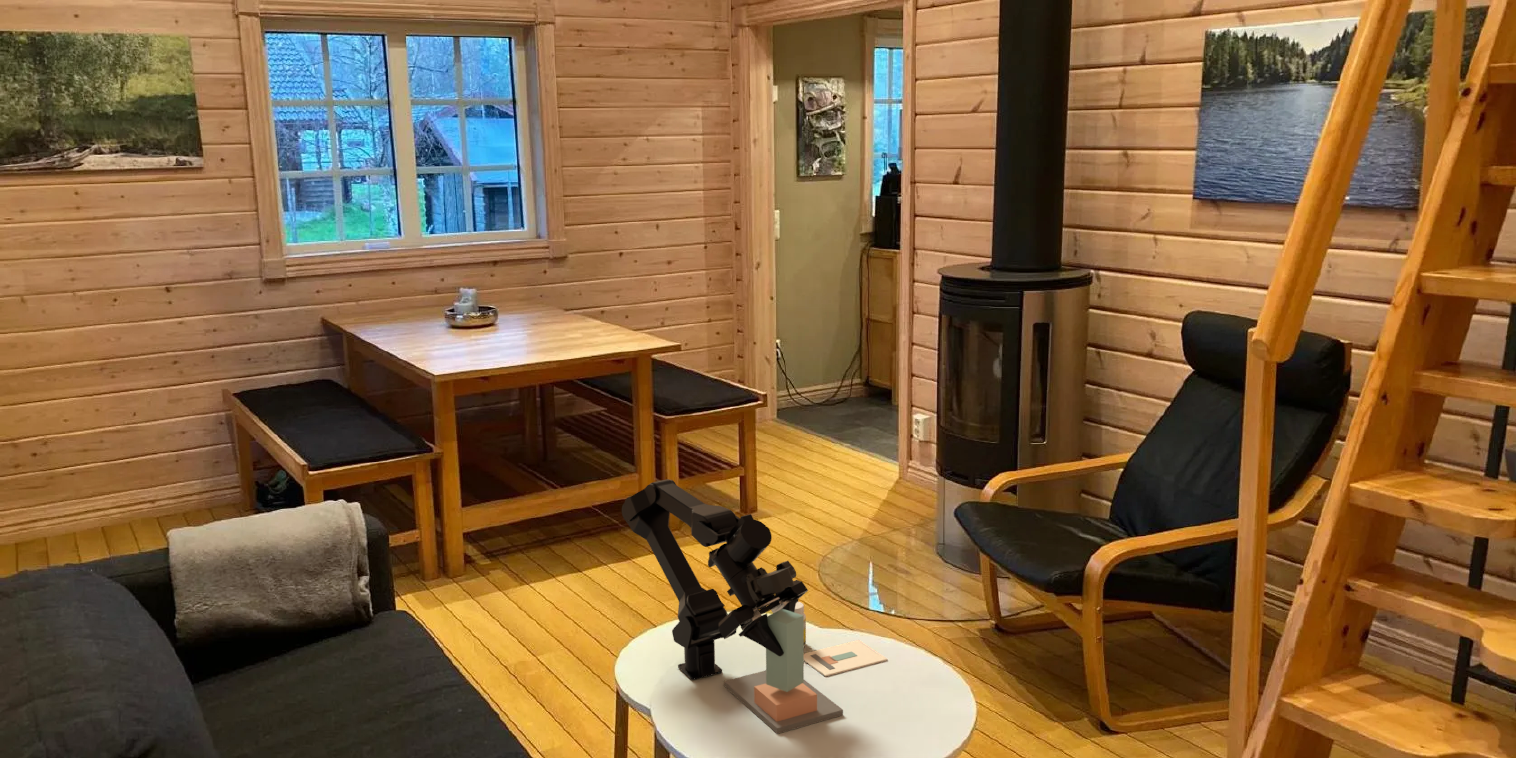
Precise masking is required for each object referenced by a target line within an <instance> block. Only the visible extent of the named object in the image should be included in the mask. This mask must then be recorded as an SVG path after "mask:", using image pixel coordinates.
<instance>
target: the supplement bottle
mask: <svg viewBox="0 0 1516 758" xmlns="http://www.w3.org/2000/svg"><path fill="white" fill-rule="evenodd" d="M804 605H805V604H804V603H802V602H800V601H798V602H797V603H796V605H795V611H794V612H795V613H797V614H801V615H804V647H805V646H806V643H807V637H806V635H807V616H806V614H805V606H804Z"/></svg>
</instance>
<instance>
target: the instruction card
mask: <svg viewBox="0 0 1516 758" xmlns="http://www.w3.org/2000/svg"><path fill="white" fill-rule="evenodd" d="M886 661H888V657H886V656H885V655H883V654H882V653H880V652H878V651H876V650H875V649H873V648H872V647H871V646H869V645H868V644H866V643H864V642H863V641H862V640H860V639H856V640H853V641H852V640H851V641H849V642H844V643H841V644H837V645H832V646H828V647H824V648H820V649H817V650H812V651H809V652H804V663H806V664H807V663H808V664H807V665H809V666H810V667H811V666H812V667H811V668H812V669H814V670H815V671H817V672H818V673H819V674H820V675H822V676H823V675H824V676H823V677H829V676H833V675H836V674H842V673H844V672H845V673H846V672H849V671H852V670H856V669H860V668H863V667H864V668H865V667H868V666H871V665H875V664H878V663H883V662H886Z"/></svg>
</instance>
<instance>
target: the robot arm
mask: <svg viewBox="0 0 1516 758" xmlns="http://www.w3.org/2000/svg"><path fill="white" fill-rule="evenodd" d="M670 514H672V515H673V516H674V517H676V518H677V519H679V520H680V521H682V522H683V523H685V524H686V525H687V526H689V527H690V533H691V536H692V538H694V539H695V540H696V541H697V542H698V544H700V545H701V546H703V547H704V548H707V547H712V546H717V545H720V544H721V545H720V546H719V547H718V548H717V547H716V548H715V549H713V550H711V551H709V552H708V556H709V557H708V560H707V566H708V567H709V568H712V567H716V568H717V570H718V571H719V572H720V574H721V576H722V577H723V579H724V581H725V582H726V583H727V585H728V586H729V589H728V590H727V591H726V593H727V594H728V595H729V597H731V596H733V595H734V596H735V598H736V599H737V600H738V602H739V603H740V604H741V606H739V607H737V608H734V609H733V610H731V611H730V612H729V613H728V612H727V609H726V608H725V607H726V606H725V605H726V604H724V603H723V601H722V600H721V598H720V595H719V594H718V591H716V589H714V588H710V589H705V588H704V587H702V585H701V584H700V582H699V580H698V578H697V576H696V575H695V573H694V571H693V569H692V567H691V565H690V563H689V562H688V560H687V558H686V556H685V553H684V552H683V551H682V549H681V547H680V545H679V543H678V541H677V539H676V538H675V536H674V534H673V532H672V530H671V528H670V526H669V525H670V523H669V522H670ZM621 515H622V518H623V520H624V521H625V522H626V524H627V525H628V527H630V529H631V531H632V533H634V534H636V535H637V536H639V537H641V538H643V539H644V540H646V541H647V543H648V545H649V547H650V549H651V551H652V552H653V555H654V558H656V561H657V562H658V564H659V566H660V568H661V570H662V572H663V573H664V575H665V578H666V580H667V581H668V584H669V585H670V587H671V589H672V591H673V593H674V594H675V597H676V598H677V600H678V609H677V619H678V623H677V624H676V625H675V626H674V627H673V629H672V630H671V633H672V634H671V635H672V638H673V641H674V642H675V643H676V644H677V645H679V646H681V647H683V648H684V651H683V652H684V653H683V654H684V663H679V664H677V668H678V669H679V670H680V671H681V672H682V673H684V675H685V676H687V677H688V678H689V679H690V680H693V681H694V680H699V679H702V678H706V677H710V676H714V675H718V674H721V673H723V669H722V668H721V667H720V666H719V665H718V664H717V663H716V654H715V653H716V652H715V651H716V649H715V641H716V640H719V639H724V640H726V639H728V638H730V637H732V636H734V635H736V634H737V631H738V628H739V627H740V629H741V630H742V631H741V632H739V633H738V636H739V637H745V638H746V639H749V640H750V641H752V642H755V643H756V644H758V645H760V646H762V647H764V649H765V650H766V649H768V650H770V651H771V652H773V653H774V654H776V655H778V656H782V655H783V654H784V652H783V650H782V648H781V646H780V644H779V642H778V641H777V639H776V637H775V636H774V634H773V632H772V631H771V629H770V627H769V626H768V617H767V616H768V613H767V612H769V611H771V612H772V614H773V613H775V612H777V611H779V610H781V609H785V610H788V611H791V612H794V611H795V605H796V603H797V602H799V599H801V597H803V596H804V595H805V594H806V593H807V592H808V591H809V589H808V588H807V587H806V585H805V584H804V582H803V581H801V580H798V579H795V578H796V576H797V572H796V569H795V567H794V566H793V565H792V564H791V562H790V561H789V560H785V561H783V562H780V563H778V564H777V565H776V568H775V569H776V570H774V571H771V572H767V570H766V569H765V568H763V567H758V568H757V567H756V565H755V563H754V562H755V561H756V560H757V559H758V557H759V556H760V555H761V554H763V552H764V551H765V550H766V549H767V548H768V546H769V545H770V544H771V542H772V538H773V537H772V533H771V530H770V528H769V527H768V526H767V525H765V523H763V522H762V521H760V520H758V519H754V517H753V515H752V514H751V513H749V514H746V515H742V516H740V517H738V516H737V515H736V514H735V512H734V511H732V510H731V509H729V508H727V507H725V506H721V505H711V504H708V503H704V502H703V501H701V500H700V499H698V498H697V497H696V496H694V495H692V494H691V493H689V492H687V491H686V490H685V489H684V488H682V487H680V486H679V485H677V484H676V482H675V481H674V480H673V479H668V478H666V479H663V480H659V481H653V482H650V483H649V484H648V485H646V486H645V488H643V489H642V490H640V491H638V492H637V493H634V494H633V495H631V496H628V497H626V498H625V500H624V503H623V504H622V505H621ZM723 543H724V544H723ZM794 579H795V580H794ZM794 613H795V612H794Z"/></svg>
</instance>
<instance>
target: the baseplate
mask: <svg viewBox="0 0 1516 758" xmlns="http://www.w3.org/2000/svg"><path fill="white" fill-rule="evenodd" d="M723 687H724V688H725V689H726V690H728V692H729V693H731V694H732V695H733V696H734V697H735V698H737V700H739V701H740V702H741V703H742V704H744V706H746V707H747V708H748V709H749V710H750V711H751V712H752V713H753V714H755V715H756V716H757V717H758V718H759V719H760V720H761V721H763V722H764V723H765V724H766V725H767V726H768V727H769V728H770V729H771V730H773V731H774V732H775V733H776V734H781V733H784V732H788V731H792V730H795V729H799V728H802V727H806V726H809V725H813V724H816V723H819V722H823V721H824V722H825V721H827V720H831V719H833V718H837V717H840V716H843V715H844V709H843V708H842V707H840V706H839V705H837V704H836V703H835V702H834V701H832V699H830V698H829V697H827V696H826V695H825V694H823V692H820V691H819V690H818V689H817V688H815V686H813V685H812V684H810V683H809V682H808V681H807V680H806V679H804V682H803V683H802V684H800V685H798V686H797V687H795V688H793V689H792V690H790V691H788V692H786V691H783V690H780V689H778V688H775V687H772V686H770V685H767V684H766V669H765V670H763V671H758V672H755V673H750V674H746V675H742V676H739V677H735V678H734V677H733V678H731V679H727V680H726V679H725V680H724V681H723Z"/></svg>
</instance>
